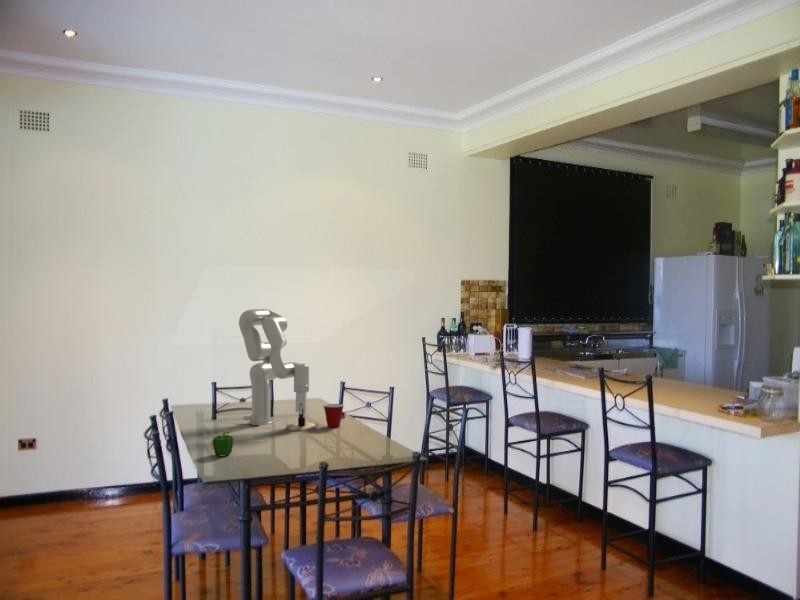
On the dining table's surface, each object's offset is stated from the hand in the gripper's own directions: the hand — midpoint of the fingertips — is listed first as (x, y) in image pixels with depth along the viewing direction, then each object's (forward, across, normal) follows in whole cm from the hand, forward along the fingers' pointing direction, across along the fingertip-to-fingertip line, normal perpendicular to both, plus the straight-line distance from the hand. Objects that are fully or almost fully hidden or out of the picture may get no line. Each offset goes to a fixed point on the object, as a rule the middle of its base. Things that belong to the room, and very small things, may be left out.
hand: (301, 424), depth 304 cm
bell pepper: (+2, +45, -30) cm, 54 cm away
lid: (+2, 0, 0) cm, 2 cm away
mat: (+2, 0, 0) cm, 2 cm away
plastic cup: (+2, -1, +16) cm, 16 cm away
